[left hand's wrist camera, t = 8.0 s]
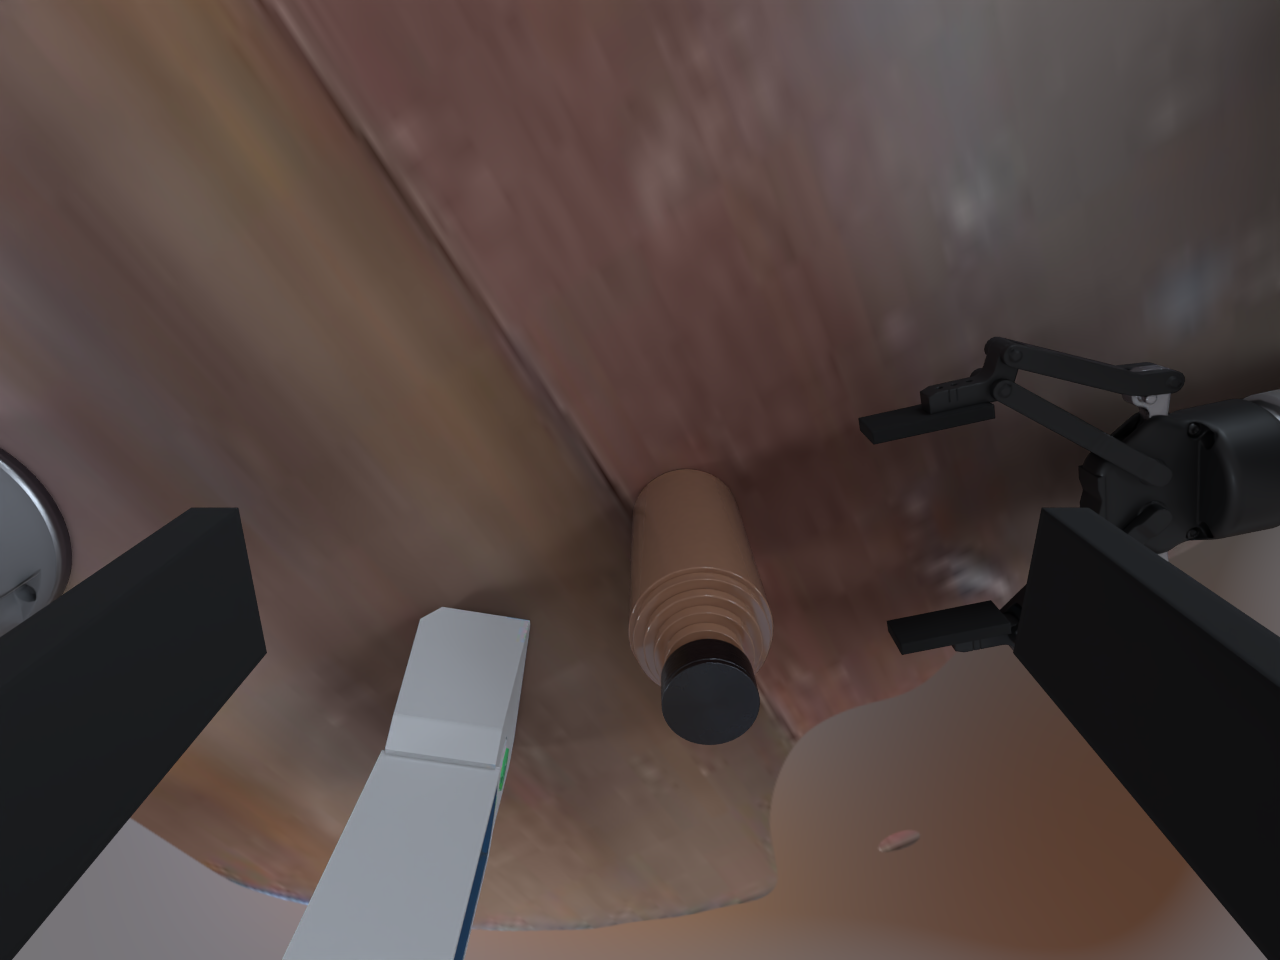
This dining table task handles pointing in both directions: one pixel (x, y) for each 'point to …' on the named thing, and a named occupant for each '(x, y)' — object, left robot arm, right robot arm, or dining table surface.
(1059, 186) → the dining table surface
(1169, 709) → the left robot arm
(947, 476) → the dining table surface
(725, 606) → the bottle
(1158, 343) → the dining table surface
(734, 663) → the cap
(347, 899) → the electronic device
